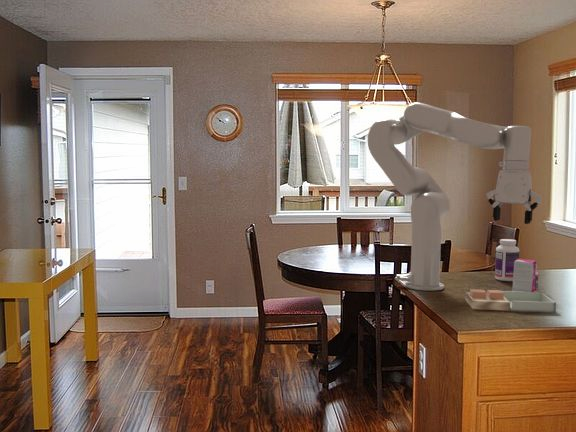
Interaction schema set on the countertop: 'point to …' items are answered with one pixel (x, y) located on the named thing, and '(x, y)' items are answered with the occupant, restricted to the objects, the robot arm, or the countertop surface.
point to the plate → (487, 303)
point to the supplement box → (524, 275)
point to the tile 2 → (495, 294)
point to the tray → (530, 302)
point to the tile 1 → (477, 293)
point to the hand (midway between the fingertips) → (511, 221)
